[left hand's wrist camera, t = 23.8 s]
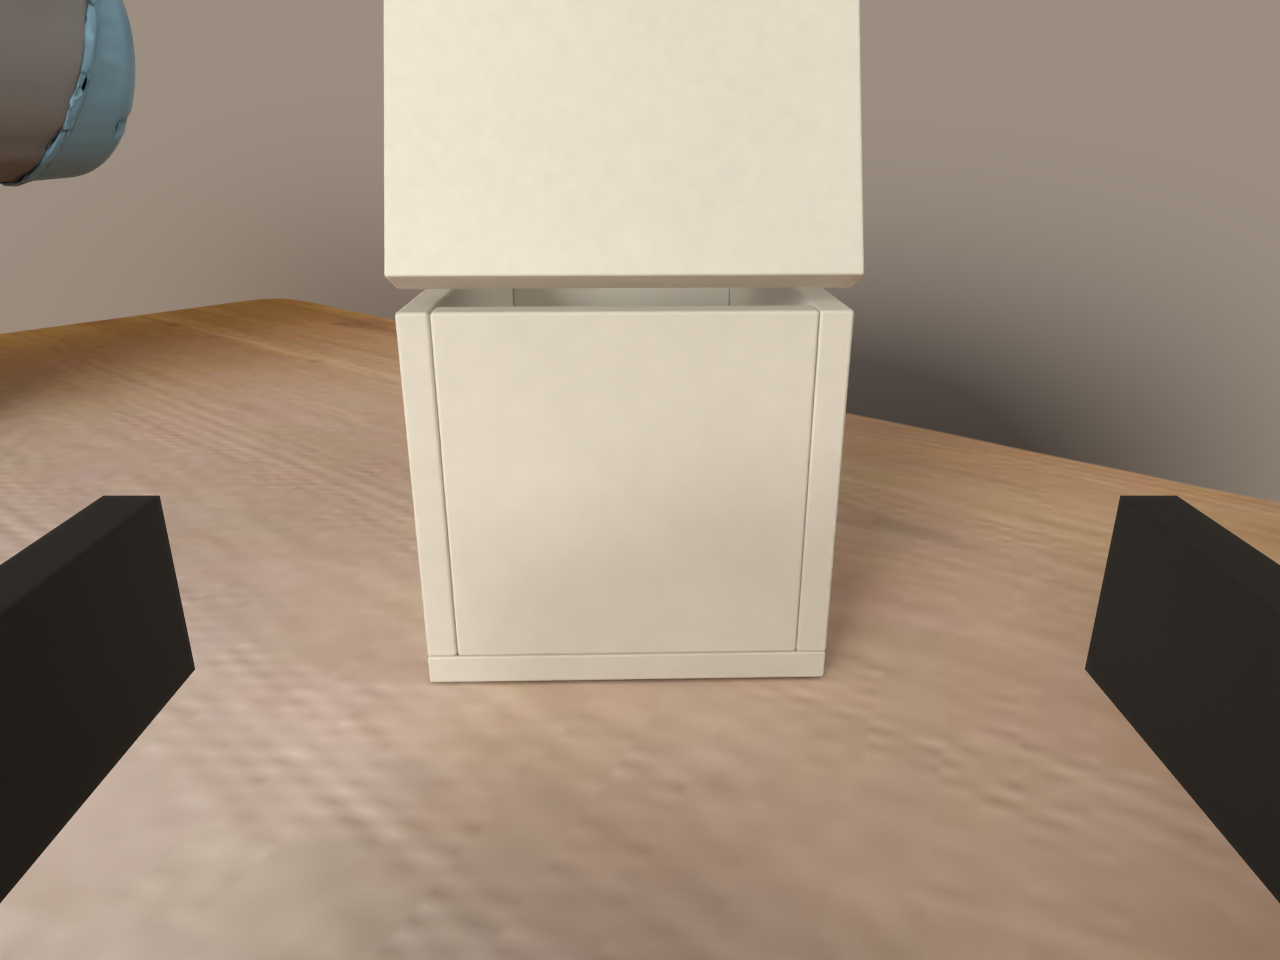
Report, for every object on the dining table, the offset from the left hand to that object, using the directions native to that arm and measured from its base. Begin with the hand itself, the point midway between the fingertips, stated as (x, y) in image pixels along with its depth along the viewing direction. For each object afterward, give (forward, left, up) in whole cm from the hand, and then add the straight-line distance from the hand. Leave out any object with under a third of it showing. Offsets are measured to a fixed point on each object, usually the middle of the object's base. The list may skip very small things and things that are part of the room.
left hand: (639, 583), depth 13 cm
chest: (+13, -10, -7) cm, 18 cm away
